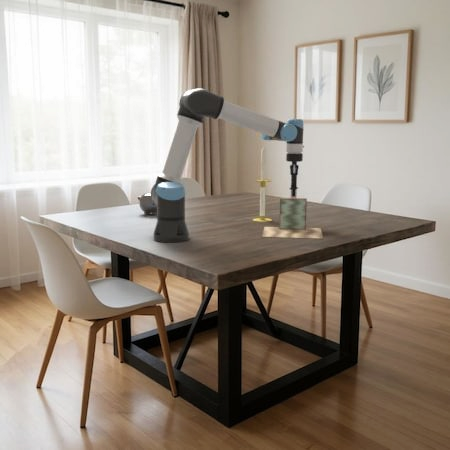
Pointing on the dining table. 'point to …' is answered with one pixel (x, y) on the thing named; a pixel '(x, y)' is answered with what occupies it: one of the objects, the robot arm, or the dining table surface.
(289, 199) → the panel
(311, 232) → the light wooden board
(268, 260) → the dining table surface
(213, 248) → the dining table surface
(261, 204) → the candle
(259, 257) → the dining table surface
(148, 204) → the piggy bank
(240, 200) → the dining table surface
